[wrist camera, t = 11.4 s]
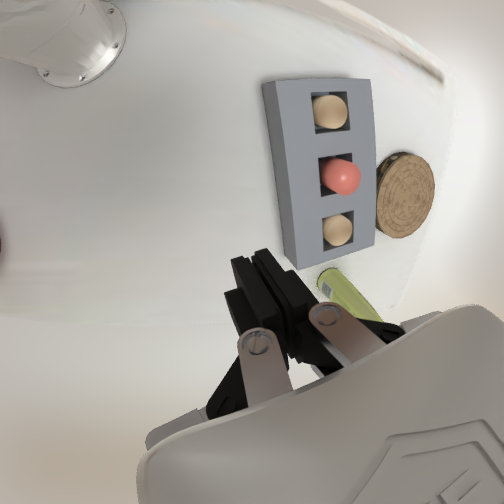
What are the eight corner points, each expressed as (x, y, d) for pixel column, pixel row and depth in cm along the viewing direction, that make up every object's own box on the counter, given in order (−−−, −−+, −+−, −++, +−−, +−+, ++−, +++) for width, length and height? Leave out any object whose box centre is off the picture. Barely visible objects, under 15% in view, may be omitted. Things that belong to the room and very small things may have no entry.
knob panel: (261, 84, 32) (275, 80, 28) (349, 80, 35) (370, 79, 31) (284, 254, 45) (297, 270, 41) (357, 233, 48) (374, 245, 44)
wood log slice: (361, 237, 49) (370, 244, 46) (369, 149, 41) (381, 153, 39) (417, 227, 53) (427, 233, 50) (428, 153, 45) (439, 156, 43)
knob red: (314, 158, 36) (331, 164, 32) (341, 154, 37) (360, 160, 33) (317, 189, 38) (333, 198, 34) (343, 183, 39) (361, 192, 35)
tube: (346, 270, 51) (413, 337, 35) (334, 293, 53) (394, 363, 36) (324, 264, 49) (393, 337, 32) (311, 288, 50) (372, 365, 34)
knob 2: (312, 211, 42) (326, 221, 38) (336, 205, 43) (352, 214, 39) (313, 236, 44) (327, 249, 40) (337, 230, 45) (352, 241, 41)
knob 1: (300, 97, 34) (315, 96, 30) (327, 95, 34) (345, 94, 31) (304, 127, 36) (320, 130, 32) (331, 124, 36) (348, 127, 33)
